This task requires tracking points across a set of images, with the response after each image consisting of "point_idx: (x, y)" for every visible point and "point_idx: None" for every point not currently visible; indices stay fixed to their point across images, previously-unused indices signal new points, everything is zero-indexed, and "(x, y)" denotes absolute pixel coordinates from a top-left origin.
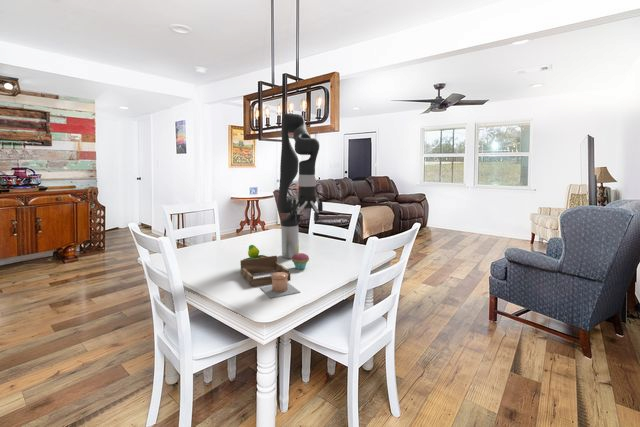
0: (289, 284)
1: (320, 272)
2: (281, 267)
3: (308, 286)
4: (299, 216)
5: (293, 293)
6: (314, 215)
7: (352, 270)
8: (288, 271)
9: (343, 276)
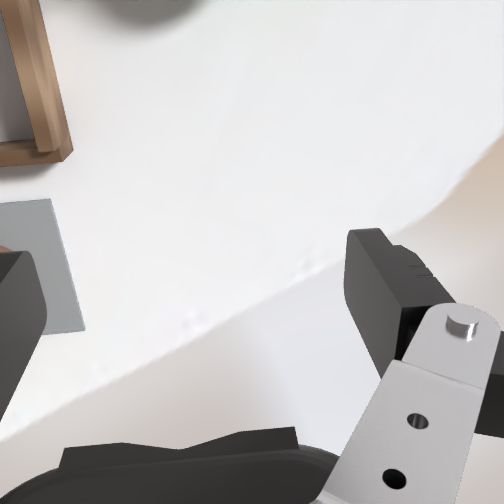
0: (52, 228)
1: (295, 89)
2: (9, 37)
3: (144, 276)
4: (3, 397)
5: (52, 332)
6: (377, 290)
7: (482, 139)
8: (49, 150)
9: (372, 213)
